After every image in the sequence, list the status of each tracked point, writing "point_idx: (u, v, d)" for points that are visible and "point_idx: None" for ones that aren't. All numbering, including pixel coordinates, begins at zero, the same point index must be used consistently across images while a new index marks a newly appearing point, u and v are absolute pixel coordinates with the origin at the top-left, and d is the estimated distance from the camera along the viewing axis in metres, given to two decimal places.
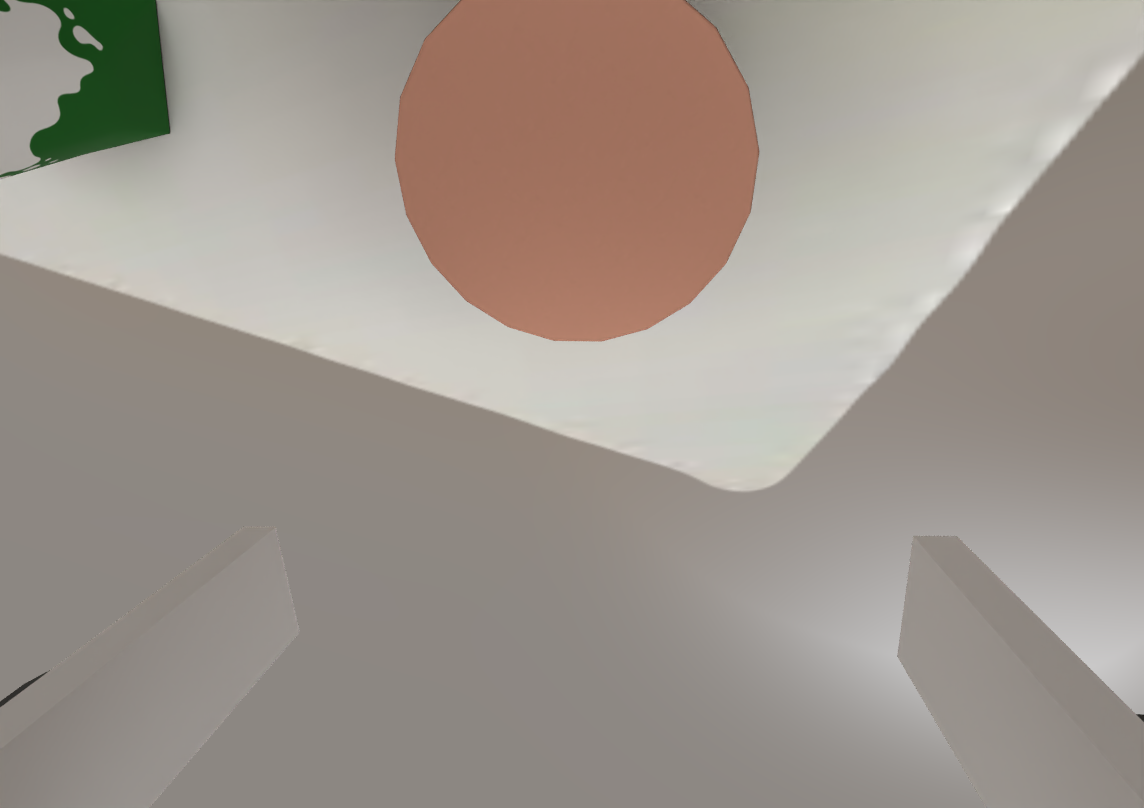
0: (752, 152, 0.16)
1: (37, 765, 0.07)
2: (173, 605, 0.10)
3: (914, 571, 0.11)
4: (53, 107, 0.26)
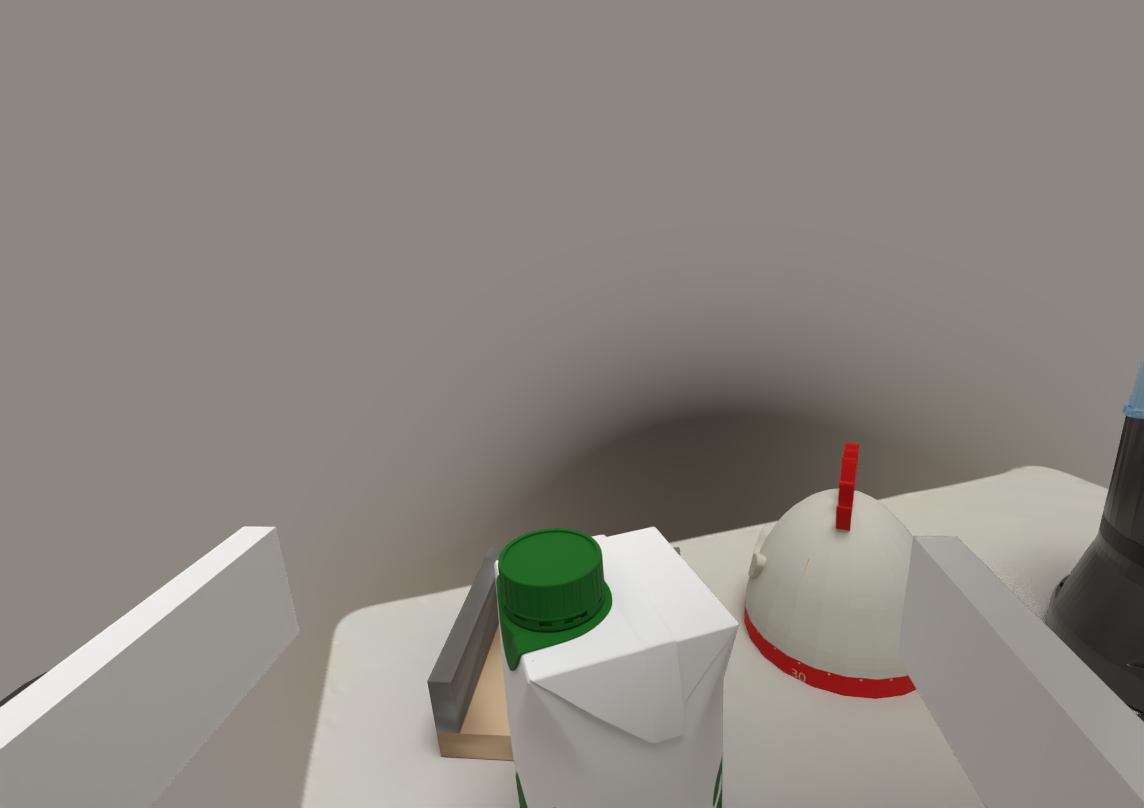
0: None
1: (37, 765, 0.07)
2: (173, 605, 0.10)
3: (914, 571, 0.11)
4: None
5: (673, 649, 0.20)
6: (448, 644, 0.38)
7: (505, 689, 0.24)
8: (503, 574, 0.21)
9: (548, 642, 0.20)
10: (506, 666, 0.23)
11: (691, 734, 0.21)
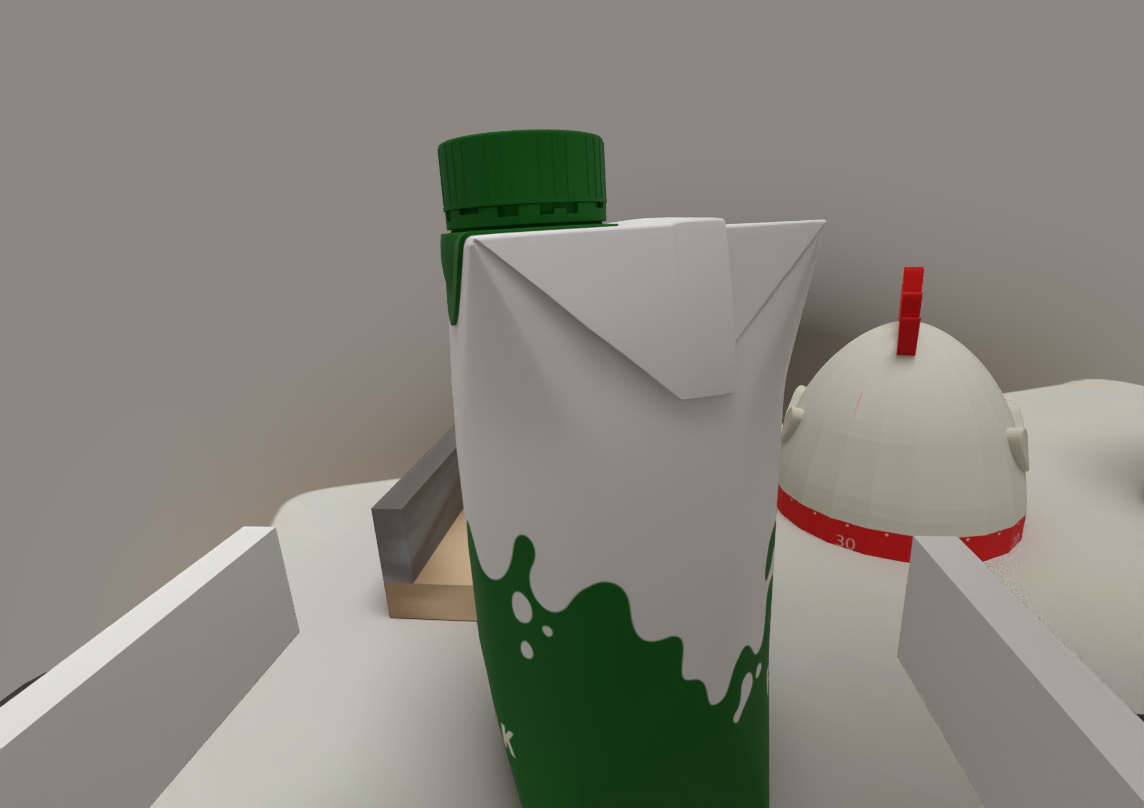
0: None
1: (37, 764, 0.07)
2: (173, 605, 0.10)
3: (914, 571, 0.11)
4: (664, 627, 0.13)
5: (719, 239, 0.12)
6: (404, 480, 0.30)
7: (454, 404, 0.16)
8: (443, 144, 0.13)
9: (511, 229, 0.12)
10: (453, 352, 0.15)
11: (745, 405, 0.13)
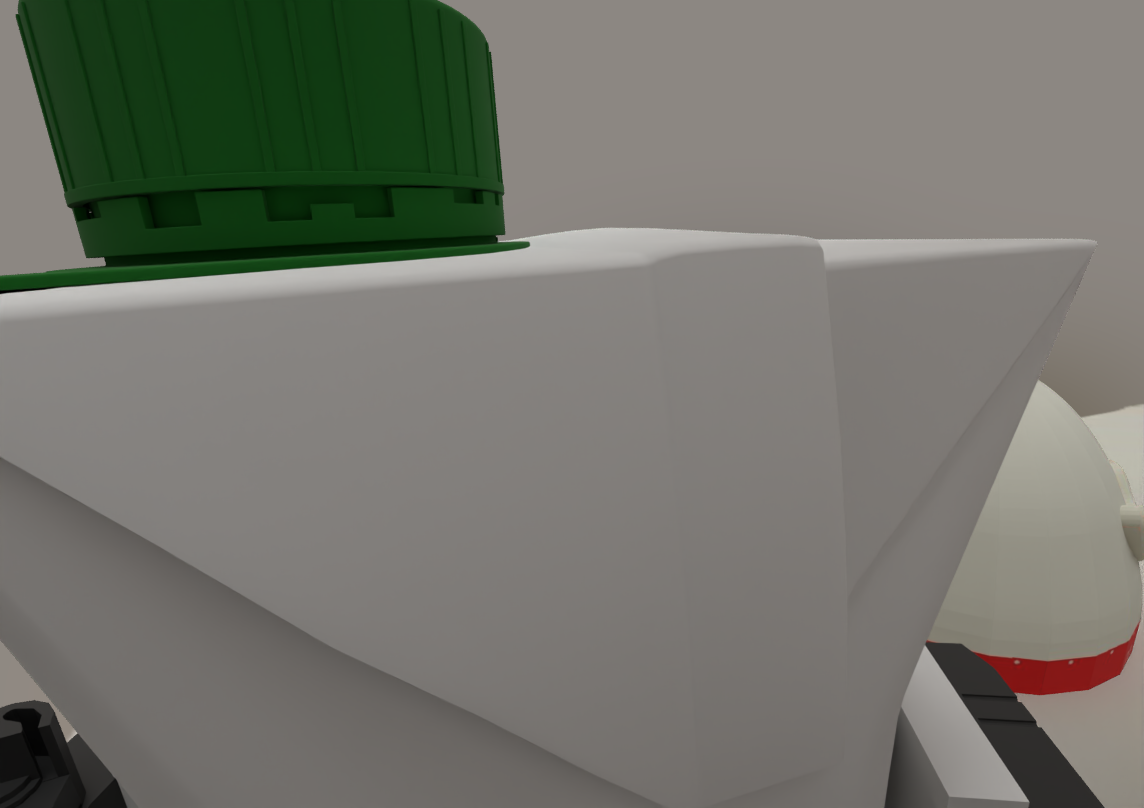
0: None
1: None
2: None
3: None
4: None
5: (803, 304, 0.04)
6: None
7: None
8: (25, 26, 0.05)
9: None
10: None
11: (859, 766, 0.04)
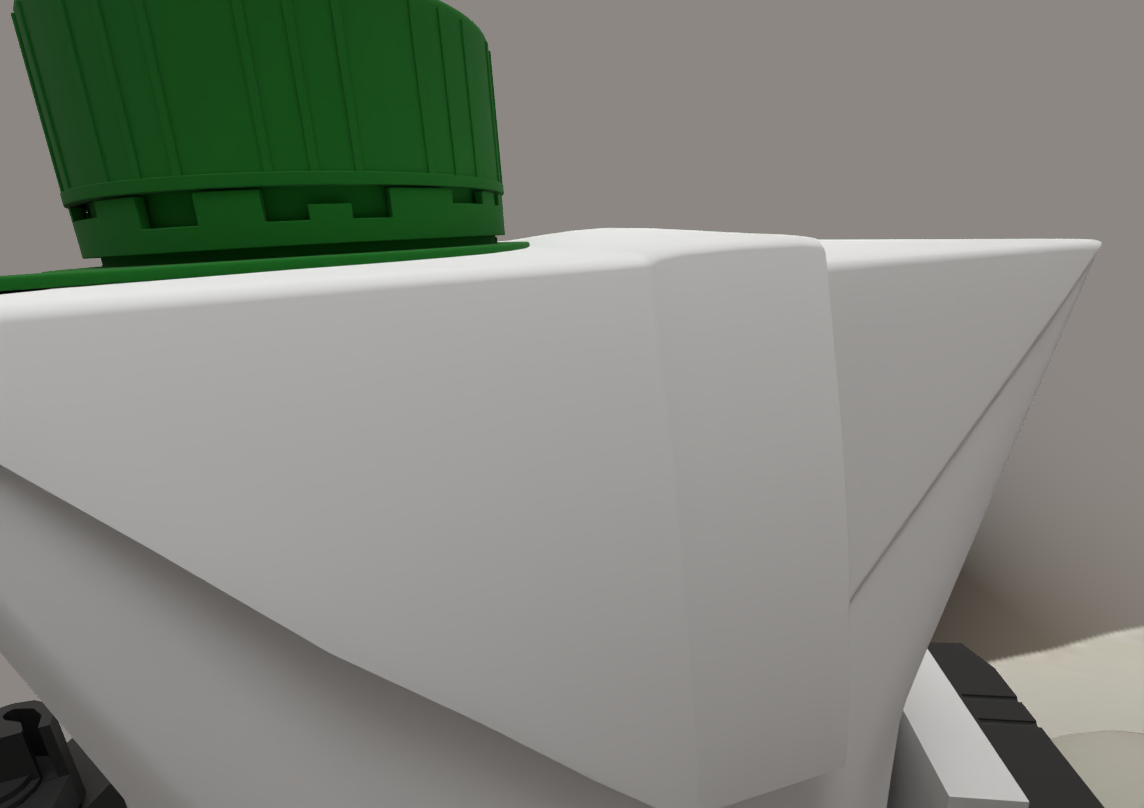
0: None
1: None
2: None
3: None
4: None
5: (805, 305, 0.04)
6: None
7: None
8: (20, 24, 0.05)
9: (146, 269, 0.04)
10: None
11: (862, 769, 0.04)
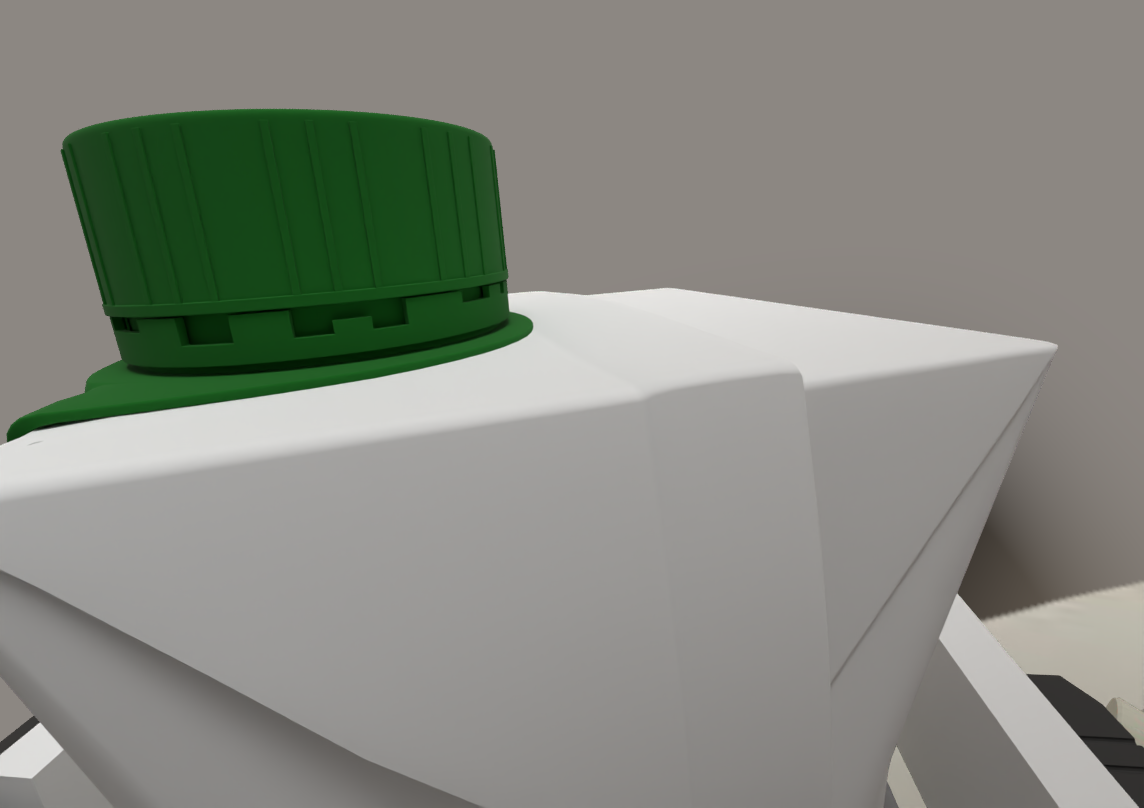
0: None
1: None
2: None
3: None
4: None
5: (785, 422, 0.04)
6: None
7: None
8: (66, 152, 0.05)
9: (189, 392, 0.04)
10: None
11: None
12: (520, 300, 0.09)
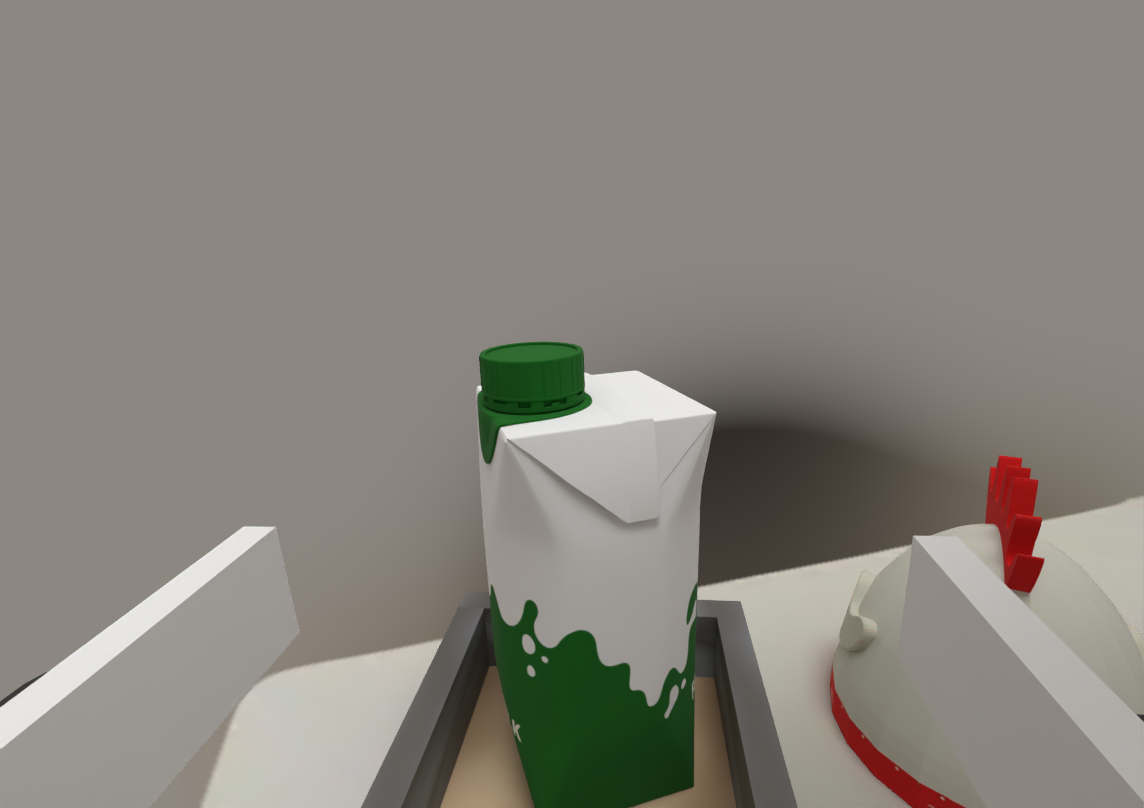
0: None
1: (37, 765, 0.07)
2: (173, 605, 0.10)
3: (914, 571, 0.11)
4: (617, 657, 0.21)
5: (650, 428, 0.20)
6: (386, 766, 0.23)
7: (482, 505, 0.24)
8: (484, 359, 0.21)
9: (526, 419, 0.20)
10: (484, 474, 0.23)
11: (666, 522, 0.21)
12: None
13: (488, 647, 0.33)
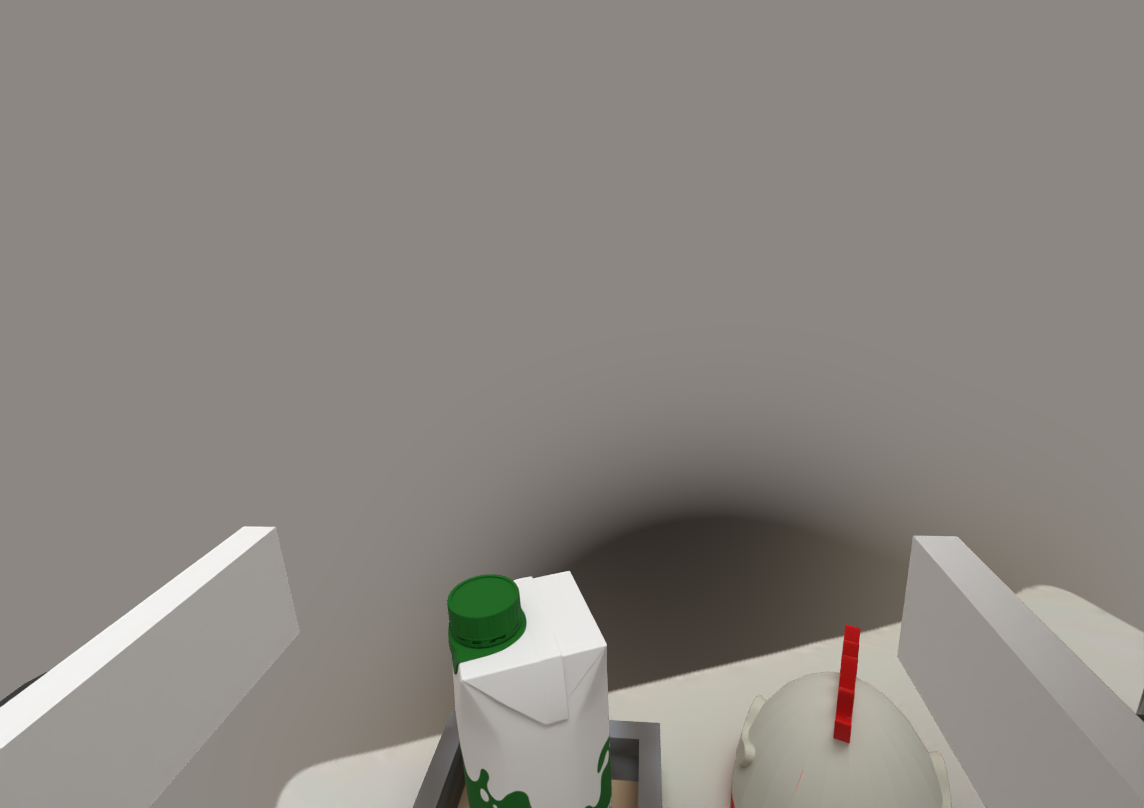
0: None
1: (37, 764, 0.07)
2: (173, 605, 0.10)
3: (914, 571, 0.11)
4: (544, 806, 0.31)
5: (559, 661, 0.30)
6: None
7: None
8: (449, 608, 0.31)
9: (477, 655, 0.30)
10: None
11: (574, 719, 0.31)
12: (523, 595, 0.35)
13: None
